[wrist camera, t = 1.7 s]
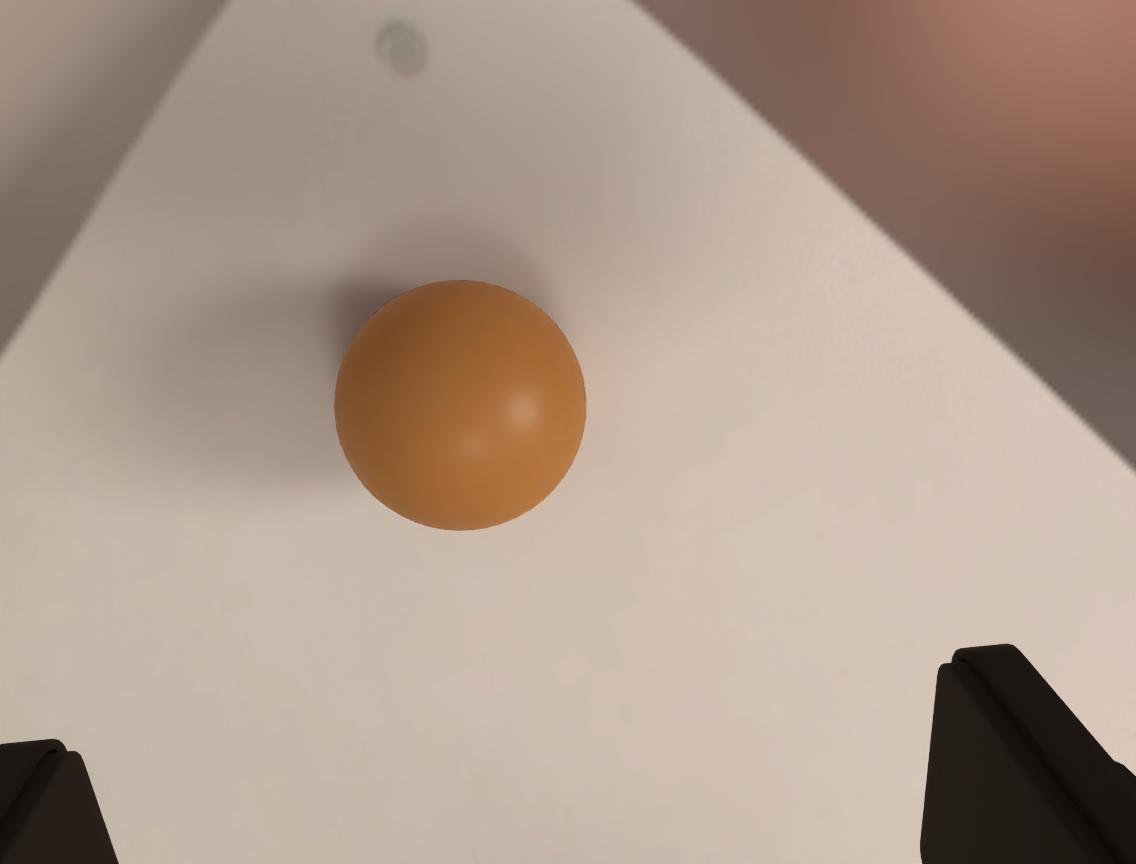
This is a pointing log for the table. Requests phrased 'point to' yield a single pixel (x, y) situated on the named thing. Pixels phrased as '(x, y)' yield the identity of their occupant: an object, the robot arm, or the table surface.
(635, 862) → the table surface
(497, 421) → the orange ball
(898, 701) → the table surface
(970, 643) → the table surface
